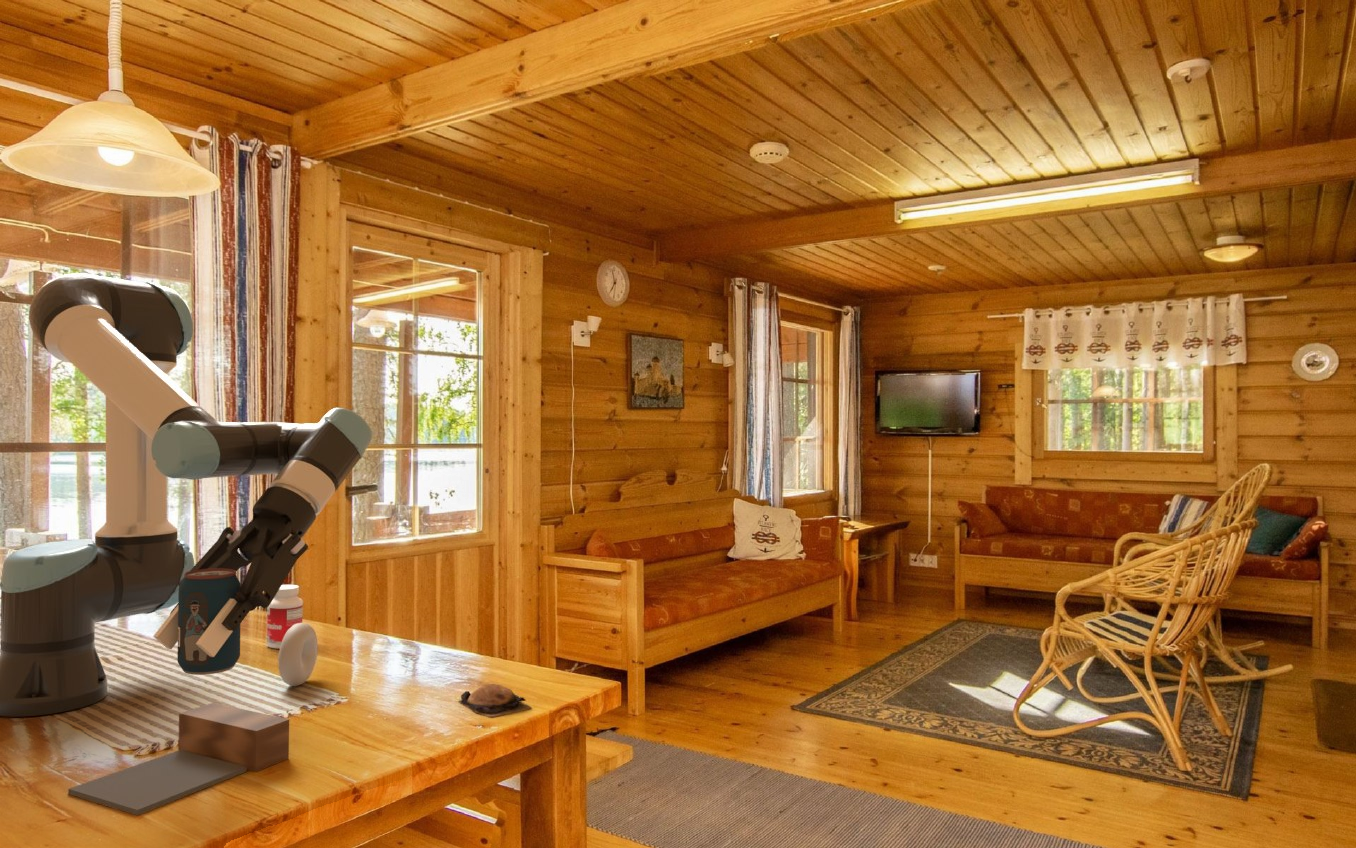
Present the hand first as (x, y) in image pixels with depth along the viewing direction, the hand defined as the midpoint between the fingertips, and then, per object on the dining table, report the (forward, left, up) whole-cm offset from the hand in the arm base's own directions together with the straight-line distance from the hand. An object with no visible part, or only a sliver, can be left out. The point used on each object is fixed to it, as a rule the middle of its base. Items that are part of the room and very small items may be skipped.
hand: (183, 646), depth 111 cm
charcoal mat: (0, -3, -16) cm, 16 cm away
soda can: (0, +4, -4) cm, 5 cm away
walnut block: (0, +7, -16) cm, 17 cm away
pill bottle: (-39, +50, -16) cm, 66 cm away
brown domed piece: (+16, +40, -16) cm, 47 cm away
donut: (-17, +33, -16) cm, 41 cm away
